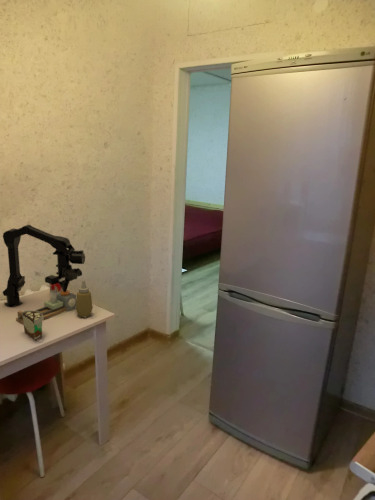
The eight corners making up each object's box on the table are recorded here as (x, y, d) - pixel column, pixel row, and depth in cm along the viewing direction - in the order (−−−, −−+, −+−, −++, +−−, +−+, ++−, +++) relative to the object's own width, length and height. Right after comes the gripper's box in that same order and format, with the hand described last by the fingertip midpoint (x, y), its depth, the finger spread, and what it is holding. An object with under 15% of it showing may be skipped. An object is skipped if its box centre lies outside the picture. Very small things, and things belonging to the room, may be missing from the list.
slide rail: (16, 321, 163) (15, 312, 162) (55, 306, 181) (55, 298, 180) (27, 326, 158) (27, 317, 157) (67, 310, 176) (66, 302, 175)
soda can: (58, 297, 192) (58, 277, 188) (47, 296, 193) (46, 275, 190) (65, 293, 198) (65, 273, 195) (54, 291, 200) (53, 271, 196)
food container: (50, 337, 150) (48, 316, 148) (36, 342, 146) (34, 320, 143) (36, 327, 158) (35, 307, 155) (23, 332, 153) (21, 311, 151)
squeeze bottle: (75, 312, 175) (74, 278, 170) (92, 310, 178) (91, 277, 173) (76, 319, 168) (75, 284, 163) (93, 317, 170) (92, 283, 166)
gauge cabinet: (54, 306, 181) (53, 293, 179) (64, 302, 186) (63, 290, 184) (67, 311, 175) (67, 298, 174) (77, 307, 180) (76, 295, 179)
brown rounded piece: (58, 299, 179) (58, 291, 178) (65, 296, 183) (65, 289, 181) (64, 301, 177) (64, 294, 176) (71, 299, 180) (71, 291, 179)
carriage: (44, 306, 174) (43, 291, 171) (54, 302, 178) (53, 287, 176) (53, 309, 170) (52, 294, 168) (63, 305, 175) (62, 291, 173)
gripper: (58, 270, 163) (59, 301, 167) (88, 262, 178) (89, 290, 182) (43, 265, 168) (45, 295, 172) (74, 257, 184) (75, 285, 188)
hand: (64, 291), depth 179 cm, fingers closed, pressing on brown rounded piece
